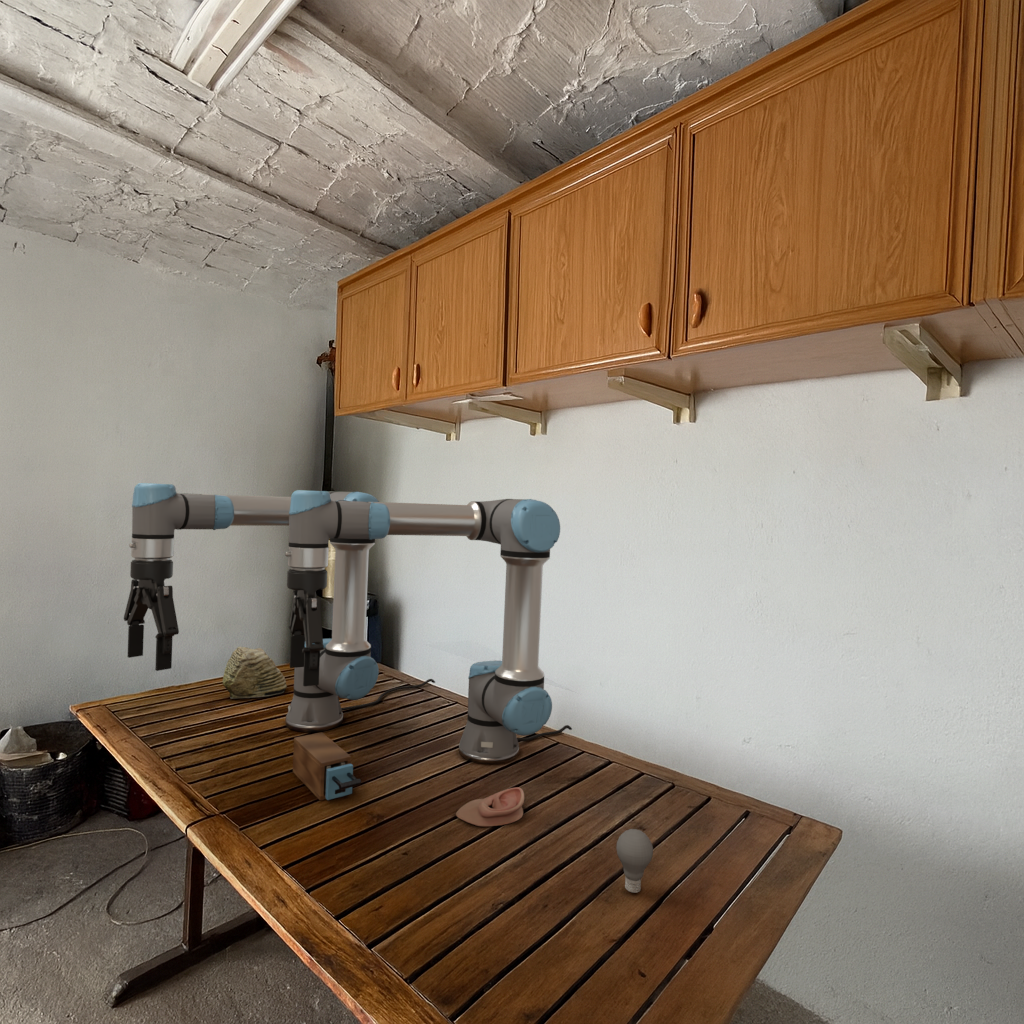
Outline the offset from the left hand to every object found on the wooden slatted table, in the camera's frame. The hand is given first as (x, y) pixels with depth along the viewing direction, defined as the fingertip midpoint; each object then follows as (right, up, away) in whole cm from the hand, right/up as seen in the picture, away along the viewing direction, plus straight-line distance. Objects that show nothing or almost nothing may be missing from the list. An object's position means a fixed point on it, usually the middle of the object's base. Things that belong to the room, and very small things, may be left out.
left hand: (148, 662), depth 129 cm
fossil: (-6, -26, +69) cm, 74 cm away
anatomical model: (+70, -31, 0) cm, 76 cm away
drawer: (+35, -28, +7) cm, 46 cm away
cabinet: (+32, -29, +11) cm, 44 cm away
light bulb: (+94, -33, -24) cm, 103 cm away
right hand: (+33, -2, -4) cm, 33 cm away
